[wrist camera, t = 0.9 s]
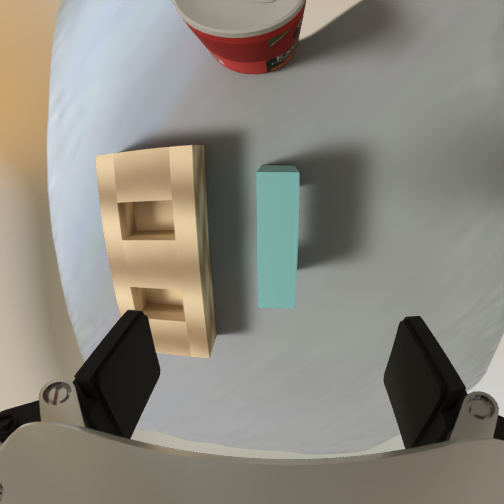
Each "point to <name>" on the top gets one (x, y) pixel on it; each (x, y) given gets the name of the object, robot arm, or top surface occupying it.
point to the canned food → (246, 31)
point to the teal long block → (277, 235)
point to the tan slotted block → (161, 243)
